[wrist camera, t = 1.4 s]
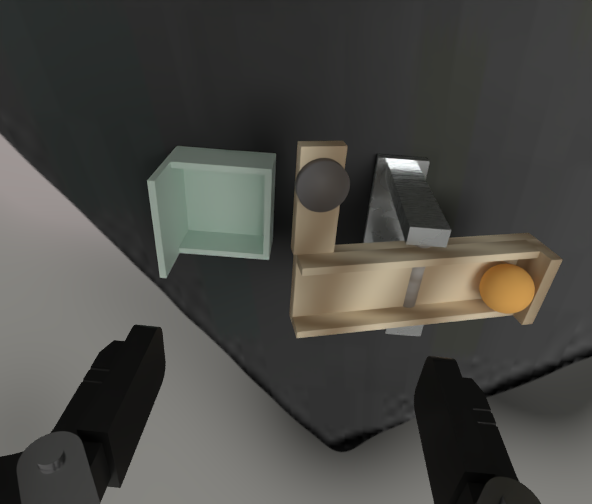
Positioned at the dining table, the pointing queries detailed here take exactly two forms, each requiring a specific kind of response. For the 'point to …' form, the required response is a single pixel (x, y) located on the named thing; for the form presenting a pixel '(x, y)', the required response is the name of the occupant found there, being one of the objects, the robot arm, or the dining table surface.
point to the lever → (390, 264)
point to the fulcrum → (404, 210)
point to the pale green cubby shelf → (212, 204)
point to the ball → (507, 288)
